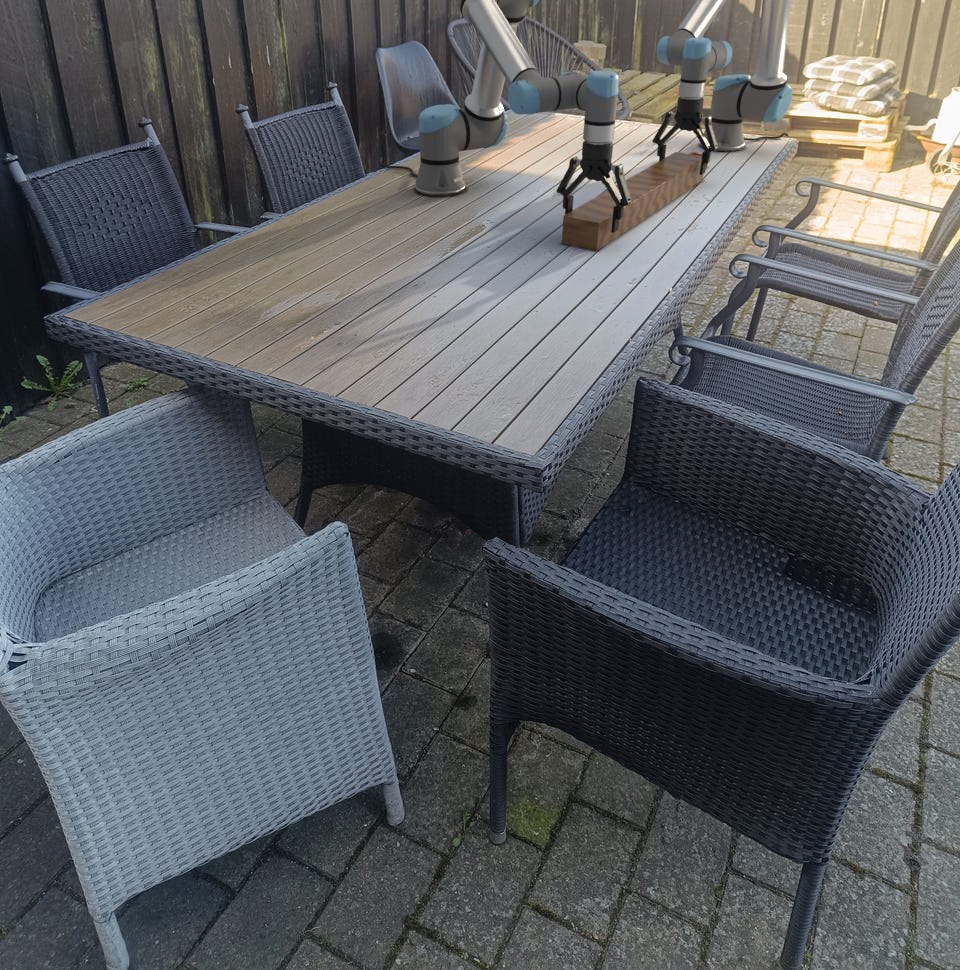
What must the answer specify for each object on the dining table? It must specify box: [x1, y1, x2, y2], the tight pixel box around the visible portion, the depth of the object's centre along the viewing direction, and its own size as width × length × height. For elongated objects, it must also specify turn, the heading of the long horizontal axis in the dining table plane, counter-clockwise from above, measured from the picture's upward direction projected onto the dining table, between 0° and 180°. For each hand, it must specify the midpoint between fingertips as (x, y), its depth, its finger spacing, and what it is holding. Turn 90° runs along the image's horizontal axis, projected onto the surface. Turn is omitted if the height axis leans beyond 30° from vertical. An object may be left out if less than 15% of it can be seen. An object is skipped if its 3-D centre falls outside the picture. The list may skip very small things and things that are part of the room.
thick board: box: [561, 151, 704, 252], centre depth 241 cm, size 75×10×7 cm, turn 147°
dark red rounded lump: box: [688, 151, 708, 168], centre depth 279 cm, size 6×4×8 cm
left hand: (591, 226), depth 220 cm, fingers open, 13 cm apart
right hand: (681, 170), depth 262 cm, fingers open, 13 cm apart
